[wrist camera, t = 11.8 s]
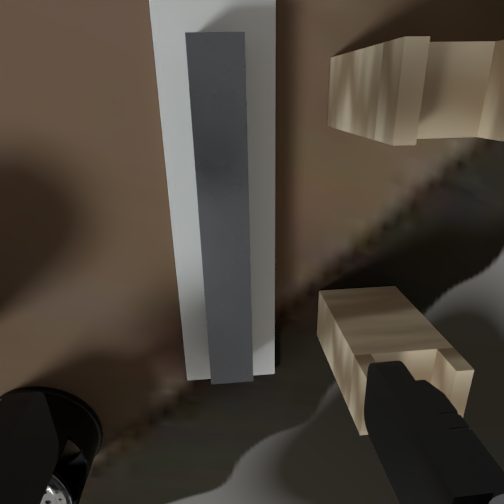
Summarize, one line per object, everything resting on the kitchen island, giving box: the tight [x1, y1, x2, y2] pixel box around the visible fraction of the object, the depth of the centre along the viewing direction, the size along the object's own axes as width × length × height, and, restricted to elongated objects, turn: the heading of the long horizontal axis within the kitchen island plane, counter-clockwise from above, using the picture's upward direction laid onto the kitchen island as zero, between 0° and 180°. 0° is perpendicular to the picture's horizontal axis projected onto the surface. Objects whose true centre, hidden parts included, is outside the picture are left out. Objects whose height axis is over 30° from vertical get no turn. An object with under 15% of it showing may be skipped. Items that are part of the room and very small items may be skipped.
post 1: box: [328, 36, 504, 146], centre depth 20 cm, size 4×6×10 cm, turn 91°
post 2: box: [317, 286, 474, 435], centre depth 27 cm, size 4×6×10 cm, turn 91°
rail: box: [185, 32, 253, 384], centre depth 25 cm, size 22×3×3 cm, turn 1°
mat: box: [149, 0, 276, 381], centre depth 27 cm, size 26×7×1 cm, turn 1°
